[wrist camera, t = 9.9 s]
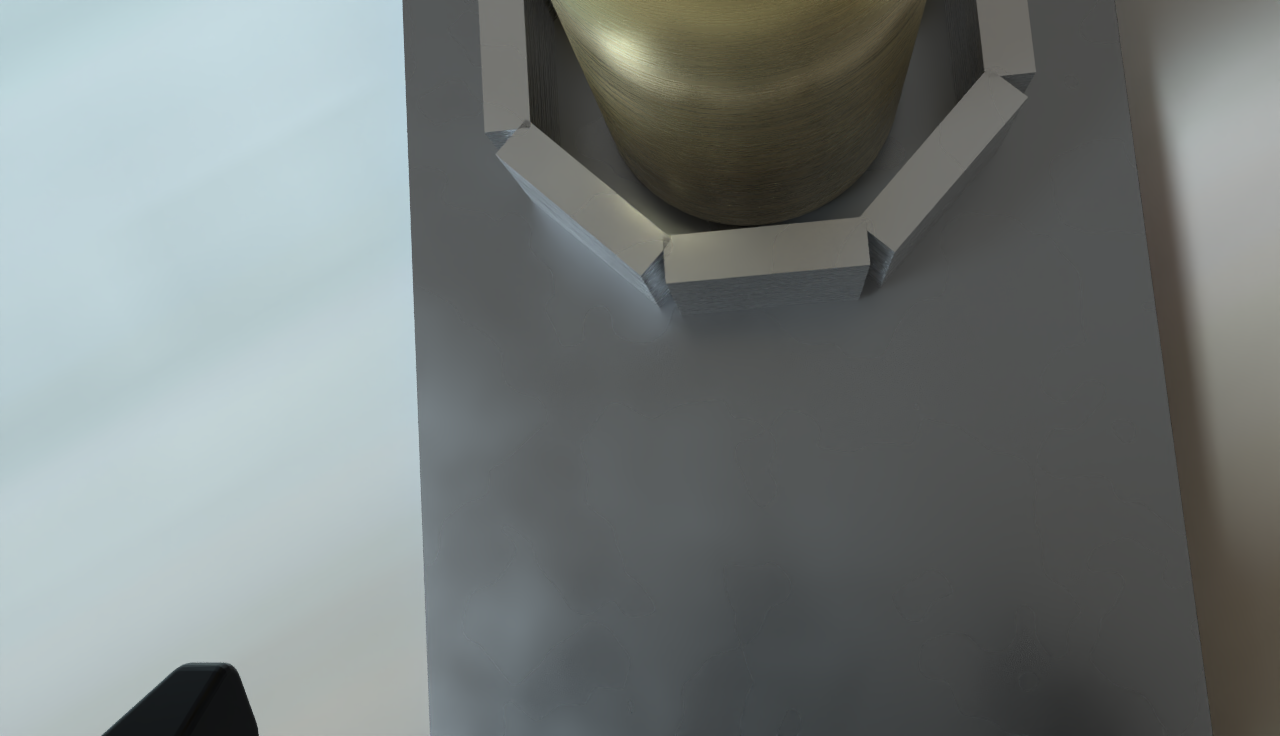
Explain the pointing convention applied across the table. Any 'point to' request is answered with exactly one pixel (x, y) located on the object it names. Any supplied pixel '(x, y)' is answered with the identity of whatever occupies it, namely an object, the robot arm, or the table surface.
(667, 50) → the gold capped bottle
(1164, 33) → the table surface
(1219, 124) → the table surface
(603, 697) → the grey piece
